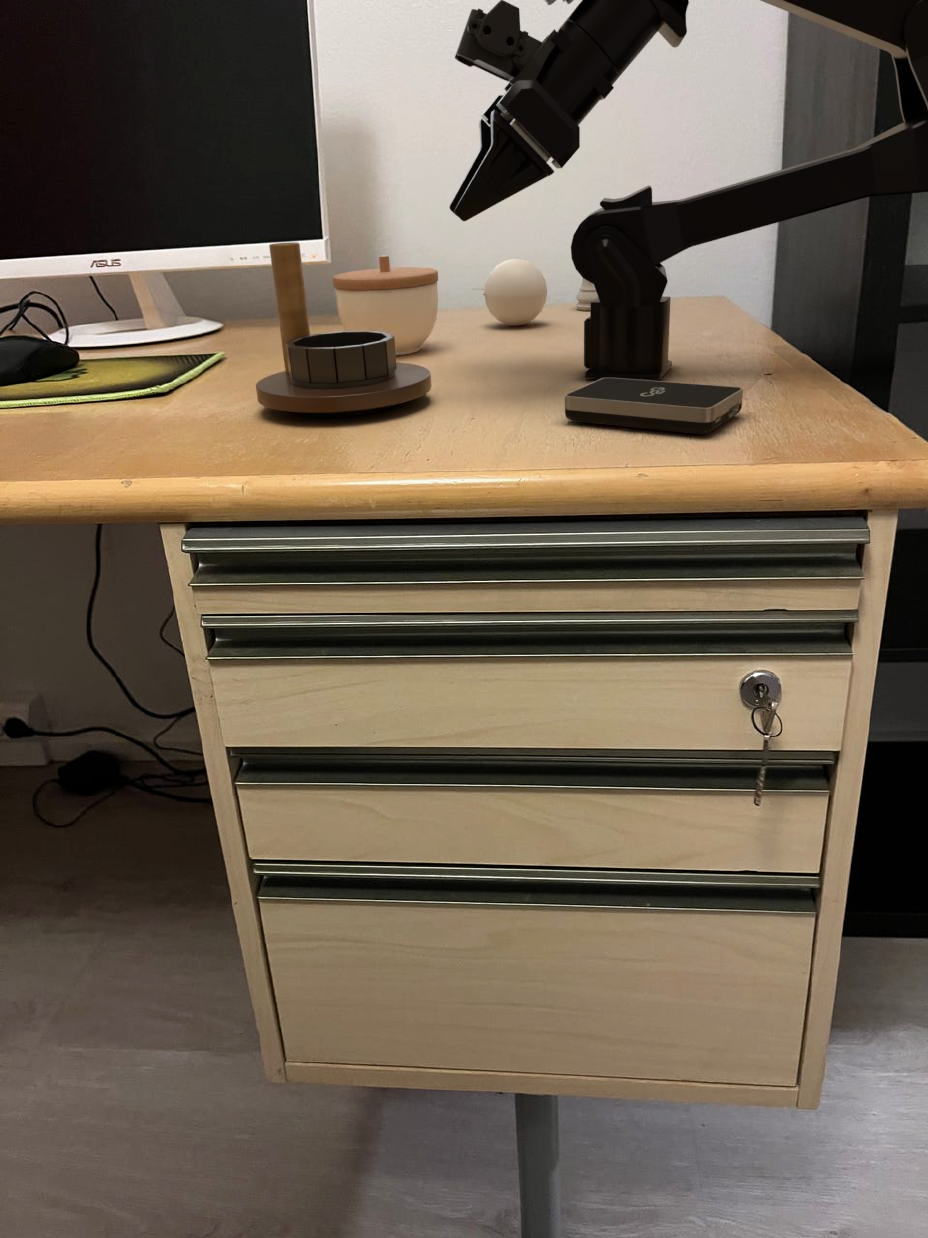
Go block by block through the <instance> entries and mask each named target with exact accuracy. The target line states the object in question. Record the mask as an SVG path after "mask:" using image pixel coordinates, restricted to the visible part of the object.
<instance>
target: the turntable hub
mask: <svg viewBox="0 0 928 1238" xmlns="http://www.w3.org/2000/svg"><path fill="white" fill-rule="evenodd" d="M393 406H394V405H390V406H385V407H379V408H373V409H366V410H357V411H346V412H328V413H303V412H299V413H300V414H302V415H305V416H308V417H309V416H310V417H318V418H345V417H356V416H362V415H369V414H374V413H378V412H382V411H385V410H387V409H389V408H391V407H393Z"/></svg>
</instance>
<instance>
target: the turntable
mask: <svg viewBox="0 0 928 1238" xmlns="http://www.w3.org/2000/svg"><path fill="white" fill-rule="evenodd" d="M268 247H269V255H270V260H271V261H270V263H271V270H272V278H273V286H274V294H275V302H276V310H277V316H278V324H279V333H280V340H281V341H280V342H281V349H282V355H283V356H282V357H283V365H284V371H280V372H276V373H273V374H270V375H268V376H265V377H263V378H262V379H260V380H258V382H256V384H255V390H256V398H257V402H258V403H259V405H261V406H263V407H264V408H268V409H271V410H275V411H281V412H289V413H290V412H291V413H300V412H303V413H328V412H346V411H357V410H366V409H373V408H379V407H385V406H390V405H393V406H394V405H398V404H404V403H406V402H410V401H413V400H415V399H419V398H420V397H423V396H424V395H426V394H428V393H429V392H430V391H431V389H432V373H431V371H430V370H429V369H428V368H426V367H425V366H422V365H419V364H414V363H408V362H400V361H397V355H396V352H395V340H394V336H393V335H391V334H390V333H388V332H379V331H345V330H339V331H328V332H319V333H314V334H313V333H312V334H311V330H310V323H309V314H308V304H307V297H306V288H305V278H304V271H303V261H302V253H301V244H300V242H298V241H297V242H296V241H295V242H293V241H292V242H291V241H290V242H278V243H277V242H276V243H270V244H269V245H268Z"/></svg>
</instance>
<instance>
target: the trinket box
mask: <svg viewBox="0 0 928 1238" xmlns="http://www.w3.org/2000/svg"><path fill="white" fill-rule="evenodd" d="M378 264H379V268H368V269H360V270H353V271H345V272H341V273H338V274H336V275H333V276H332V285H333V288H334V294H335V302H336V309H337V313H338V317H339V320H340V322H341V326H342V328H343V331H344V332H345V331H379V332H388V333H390V334H391V335H393V336H394V340H395V352H396V356H404V355H409V354H414V353H417V352H419V351H420V350H421V346H422V345H423V344H424V343H425V341H427V339H428V338H429V337H430V335H431V333H432V332H433V330H434V327H435V324H436V321H437V316H438V307H439V291H438V290H439V289H438V281H439V271H438V269H435V268H433V267H418V266H417V267H414V266H413V267H411V266H405V267H404V266H403V267H398V266H397V267H391V266H390V265H391V264H390V255H379V256H378Z"/></svg>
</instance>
